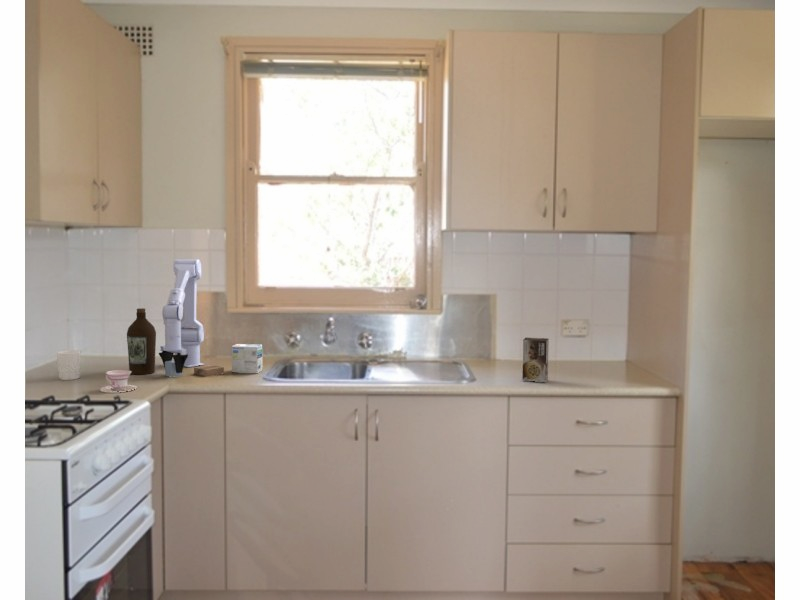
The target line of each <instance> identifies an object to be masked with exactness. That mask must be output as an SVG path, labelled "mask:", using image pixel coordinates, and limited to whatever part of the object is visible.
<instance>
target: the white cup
mask: <svg viewBox="0 0 800 600" xmlns="http://www.w3.org/2000/svg"><path fill="white" fill-rule="evenodd" d="M56 355H57V370H58V376H59V377H58V378H59V380H61V381H69V380H70V381H72V380H77V379H79V378H80V370H81V350H78V349H71V350H70V349H69V350H67V349H66V350H60V351H59V350H58V351H57V352H56Z"/></svg>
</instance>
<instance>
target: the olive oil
mask: <svg viewBox="0 0 800 600" xmlns="http://www.w3.org/2000/svg"><path fill="white" fill-rule="evenodd" d="M146 313H147V312H146V308H143V307H141V308H140V307H139V308H136V318H135V320H134V321H133V322H132V323H131V324H130V325H129V326H128V328H127V332H126V343H127V354H128V357H127V358H128V371H132V372H131V374H130V375H136V376H137V375H138V376H140V375H150V374H151V375H152V374H153V373H155V372H156V347H157V346H156V341H157V340H156V339H157V331H156V329H155V326H154V325H153V324H152V323H151V322H150V321H149V320H148V319H147V318H146V317H147V316H146V315H147V314H146Z"/></svg>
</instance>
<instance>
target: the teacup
mask: <svg viewBox="0 0 800 600" xmlns="http://www.w3.org/2000/svg"><path fill="white" fill-rule="evenodd" d="M131 372H132V371H129V369H128V370H124V369H117V370H116V369H115V370H110V371H109V370H108V371H106V372H105V379H106V381H107V382H108V383H109V384H110V385H106V386H102V387H100V389H99V391H100V392H101V393H107V394H116V393H117V394H118V393H119V394H120V392H121V393H127V392H126V391H121V390H123V389H124V390H126V388H125V387H126V386H131V387H135V390H137V389H138V386H137V385H133V384H128V380H129V377H130V375H132V374H131ZM111 388H112V390H111ZM136 388H137V389H136ZM106 389H108V390H110V392H107V391H104V390H106ZM132 390H133V391H135V390H134V389H132ZM112 391H113V392H112ZM117 391H119V392H117ZM128 392H132V391H131V390H128Z"/></svg>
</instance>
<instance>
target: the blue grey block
mask: <svg viewBox="0 0 800 600" xmlns="http://www.w3.org/2000/svg"><path fill="white" fill-rule="evenodd" d="M165 375H166V377H168V376H171V377H170V378H174V377H173V376H177V377H181V376H180V375H182V376H183V372H182V373H176V368H175V362H174V359H172V361H166V362H165V368H164V376H165Z"/></svg>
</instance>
